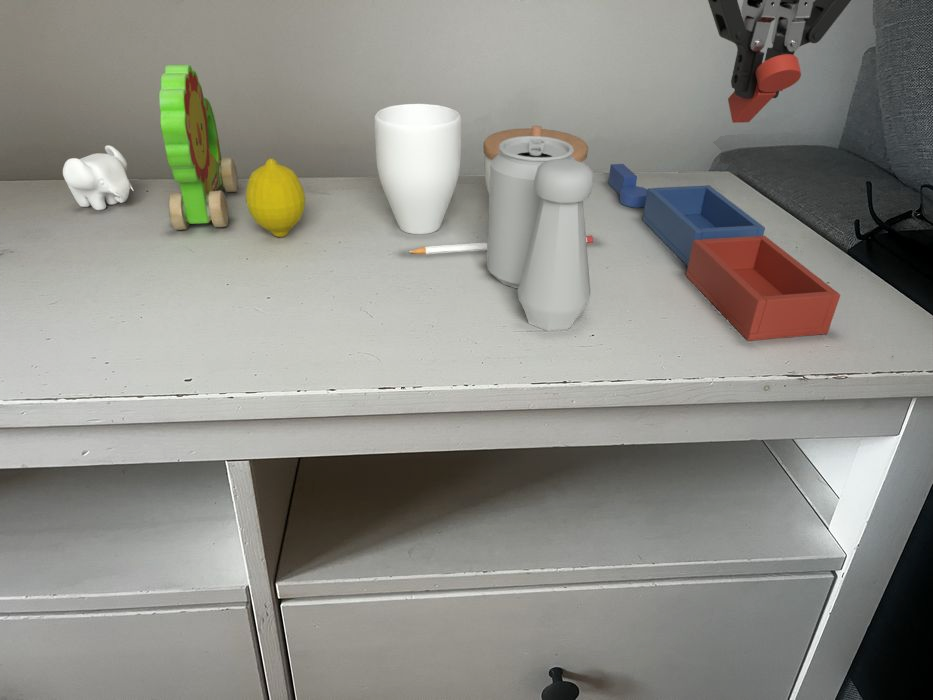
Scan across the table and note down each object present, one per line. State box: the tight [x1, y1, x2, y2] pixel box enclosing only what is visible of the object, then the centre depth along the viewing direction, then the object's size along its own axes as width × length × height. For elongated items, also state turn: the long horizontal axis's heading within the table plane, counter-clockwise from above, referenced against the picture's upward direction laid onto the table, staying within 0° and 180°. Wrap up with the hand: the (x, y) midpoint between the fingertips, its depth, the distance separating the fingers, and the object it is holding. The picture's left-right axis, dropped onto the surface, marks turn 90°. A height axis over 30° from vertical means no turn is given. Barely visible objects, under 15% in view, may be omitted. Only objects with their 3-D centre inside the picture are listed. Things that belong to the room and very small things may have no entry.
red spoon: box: [727, 54, 802, 124], centre depth 60 cm, size 8×3×2 cm
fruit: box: [245, 156, 306, 238], centre depth 70 cm, size 6×6×8 cm
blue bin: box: [642, 184, 766, 267], centre depth 72 cm, size 7×11×4 cm, turn 10°
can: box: [486, 136, 576, 289], centre depth 63 cm, size 8×8×12 cm
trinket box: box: [482, 125, 589, 193], centre depth 76 cm, size 11×11×9 cm
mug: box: [373, 103, 462, 235], centre depth 73 cm, size 12×8×11 cm
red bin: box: [685, 235, 841, 341], centre depth 61 cm, size 7×11×4 cm, turn 10°
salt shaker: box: [517, 159, 595, 332], centre depth 56 cm, size 6×6×13 cm
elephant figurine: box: [62, 145, 135, 211], centre depth 76 cm, size 7×8×6 cm
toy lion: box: [158, 64, 239, 231], centre depth 73 cm, size 16×5×15 cm, turn 9°
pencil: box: [408, 235, 594, 255], centre depth 71 cm, size 1×19×1 cm, turn 101°
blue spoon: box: [607, 163, 648, 209], centre depth 83 cm, size 8×3×2 cm, turn 10°
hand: (755, 95), depth 61 cm, fingers closed on red spoon, 1 cm apart
